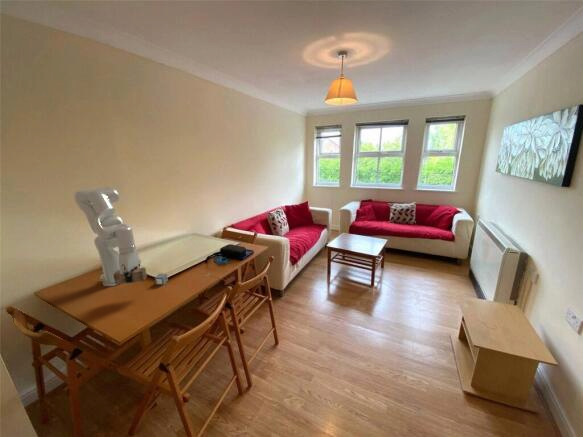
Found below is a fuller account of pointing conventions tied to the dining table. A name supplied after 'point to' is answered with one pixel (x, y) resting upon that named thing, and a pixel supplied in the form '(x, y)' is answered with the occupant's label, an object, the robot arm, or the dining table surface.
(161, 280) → the marked cube
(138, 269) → the walnut screen
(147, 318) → the dining table surface
